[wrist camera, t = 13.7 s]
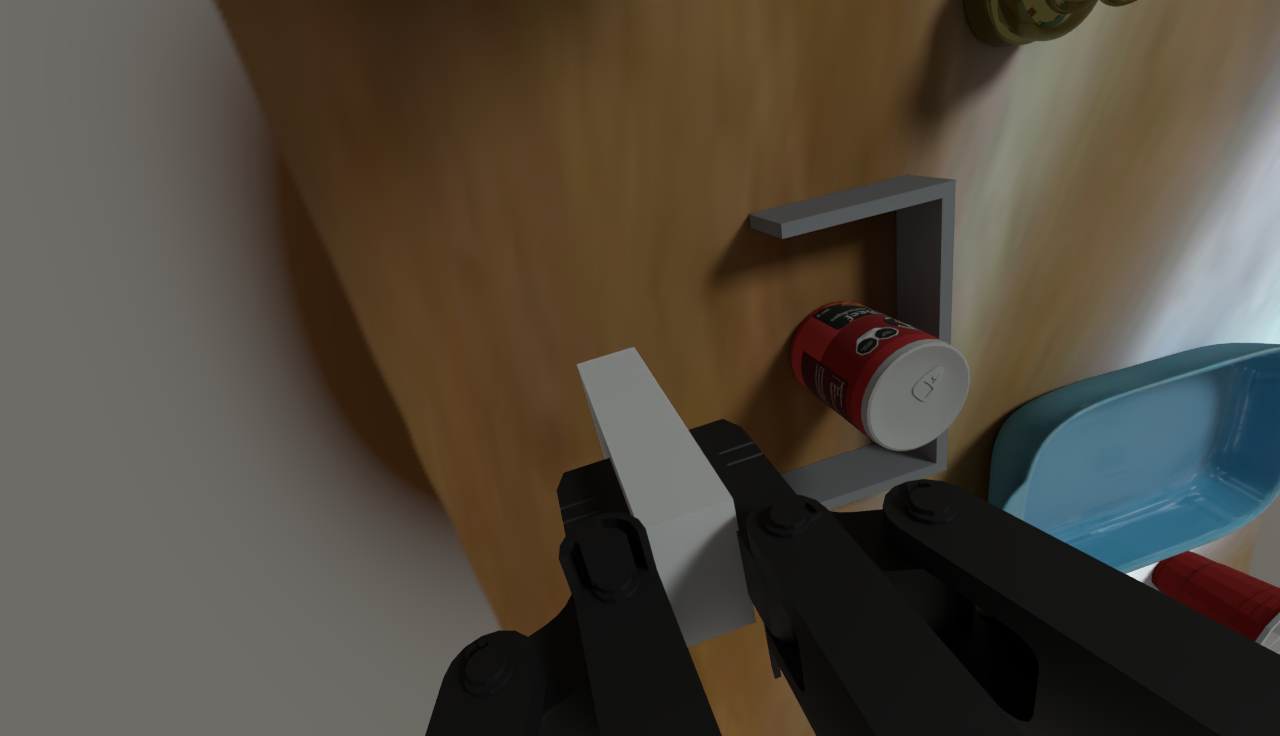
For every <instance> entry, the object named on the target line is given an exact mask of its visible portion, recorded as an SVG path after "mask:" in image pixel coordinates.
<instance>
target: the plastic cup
mask: <svg viewBox="0 0 1280 736" xmlns="http://www.w3.org/2000/svg"><path fill="white" fill-rule="evenodd" d="M1152 582H1153V583H1154V585H1155V586H1156V587H1157V588H1158V589H1159V590H1160V591H1161V592H1162V593H1163V594H1165V595H1167V596H1169V597H1170V598H1172V599H1174V600H1176V601H1178V602H1180V603H1182V604H1184V605H1186V606H1188V607H1190V608H1192V609H1193V610H1195V611H1197V612H1199V613H1201V614H1203V615H1205V616H1207V617H1209V618H1211V619H1213V620H1215V621H1216V622H1218V623H1220V624H1222V625H1224V626H1226V627H1228V628H1230V629H1232V630H1234V631H1236V632H1238V633H1239V634H1241V635H1243V636H1245V637H1247V638H1249V639H1251V640H1253V641H1255V642H1257V643H1259V644H1261V645H1262V646H1264V647H1266V648H1268V649H1270V650H1272V651H1274V652H1276V653H1278V654H1280V588H1278V587H1276V586H1273V585H1271V584H1269V583H1266V582H1264V581H1261V580H1259V579H1257V578H1254V577H1252V576H1250V575H1247V574H1245V573H1242V572H1240V571H1238V570H1235V569H1233V568H1231V567H1228V566H1226V565H1223V564H1220V563H1217V562H1214V561H1212V560H1210V559H1208V558H1205V557H1203V556H1201V555H1198V554H1196V553H1194V552H1190V551H1186V552H1183V553H1181V554H1178V555H1175V556H1172V557H1170V558H1167V559H1164V560H1162V561H1160V563H1159V564H1158V566H1157V567H1156V568H1155V571H1154V573H1153V576H1152Z"/></svg>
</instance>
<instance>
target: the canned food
mask: <svg viewBox="0 0 1280 736" xmlns="http://www.w3.org/2000/svg"><path fill="white" fill-rule="evenodd" d="M790 361H791V366H792V369H793V371H794V374H795V376H796V377H797V379H798V381H799V382H800V383H801V384H802V385H803V386H804V387H805V388H806V389H808V390H809V391H810V392H812V393H813V394H814V395H815V396H817V397H818V398H819V399H820V400H822V401H823V402H824V403H825V404H827V405H828V406H829V407H830V408H832V409H833V410H834V411H836V412H837V413H838V414H839V415H841V416H842V417H843V418H844V419H846V420H847V421H848V422H849V423H851V424H852V425H853V426H854V427H856V428H857V429H858V430H860V431H861V432H862V433H863V434H865V435H866V436H868V437H869V438H870V439H872V440H873V441H874V442H876V443H878V444H880V445H881V446H883V447H885V448H887V449H890V450H894V451H907V450H912V449H916V448H919V447H921V446H924V445H926V444H927V443H929V442H931V441H932V440H934V439H936V438H937V437H938V436H939V435H941V434H942V433H943V432H944V431H945V430H946V429H947V428H948V427H949V426H950V425H951V424H952V422H953V421H954V420H955V418H956V417H957V416H958V414H959V412H960V411H961V409H962V407H963V405H964V403H965V400H966V397H967V395H968V390H969V385H970V372H969V367H968V363H967V361H966V359H965V357H964V356H963V355H962V353H961V352H960V351H959V350H958V349H956V348H954V347H953V346H951V345H950V344H948V343H947V342H945V341H943V340H940V339H938V338H936V337H935V336H932V335H930V334H928V333H925V332H923V331H921V330H919V329H916V328H914V327H912V326H910V325H907V324H905V323H903V322H900V321H898V320H896V319H894V318H891V317H889V316H887V315H884V314H882V313H880V312H878V311H875V310H873V309H871V308H869V307H866V306H864V305H862V304H859V303H856V302H849V301H839V302H832V303H829V304H826V305H823V306H821V307H820V308H818V309H816V310H815V311H813V312H812V313H811V314H810V315H809V316H807V318H806V319H805V320H804V321H803V322H802V323H801V325H800V326H799V328H798V329H797V331H796V333H795V335H794V338H793V340H792V344H791V349H790Z"/></svg>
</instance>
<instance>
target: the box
mask: <svg viewBox="0 0 1280 736" xmlns="http://www.w3.org/2000/svg"><path fill="white" fill-rule="evenodd" d="M955 182H956V180H952V179H943V178H933V177H923V176H913V175H905V176H901V177H897V178H893V179H889V180H885V181H881V182H877V183H873V184H869V185H865V186H861V187H857V188H853V189H849V190H845V191H841V192H837V193H833V194H829V195H825V196H821V197H817V198H813V199H809V200H804V201H800V202H796V203H792V204H788V205H784V206H780V207H776V208H772V209H768V210H764V211H760V212H756V213H752V214H749V218H750V227H751V228H752V229H755V230H758V231H761V232H764V233H766V234H769V235H772V236H775V237H778V238H781V239H785V238H789V237H792V236H796V235H800V234H804V233H808V232H812V231H816V230H820V229H824V228H827V227H831V226H835V225H839V224H843V223H847V222H851V221H855V220H859V219H862V218H866V217H870V216H874V215H878V214H882V213H886V212H890V211H894V210H896V251H897V320H898V321H900V322H903V323H905V324H907V325H910V326H912V327H914V328H916V329H919V330H921V331H923V332H925V333H928V334H930V335H932V336H935V337H936V338H938V339H940V340H943V341H945V342H947V343H948V344H950V343H951V311H952V279H953V246H954V214H955ZM947 439H948V428H947V429H946V430H945V431H944V432H943V433H942V434H941V435H939V436H938V437H937V438H936V439H934V440H932V441H931V442H929V443H927V444H926V445H924V446H921V447H919V448H916V449H912V450H907V451H894V450H890V449H887V448H885V447H883V446H881V445H880V444H878V443H875V444H872V445H869V446H866V447H863V448H860V449H856V450H853V451H850V452H847V453H844V454H841V455H838V456H835V457H832V458H829V459H826V460H823V461H819V462H816V463H813V464H810V465H807V466H804V467H801V468H798V469H795V470H792V471H789V472H785V473H782V474H780V475H781V476H782V477H783V478H784V479H785V481H786V482H787V483H788V484H789V485H790V487H791V488H792V489H793V490H794V491H795V493H796V494H797V495H803V496H806V497H809V498H812V499H815V500H817V501H818V502H819V503H821V504H822V505H823V506H825V507H826V508H827V509H828V510H830V509H833V508H836V507H839V506H842V505H845V504H848V503H850V502H853V501H856V500H859V499H862V498H865V497H868V496H871V495H874V494H877V493H880V492H883V491H886V490H889V489H892V488H893V487H894V486H897V485H899V484H902V483H904V482H907V481H913V480H918V479H921V478H924V477H927V476H930V475H933V474H936V473H939V472H942V471H945V470H947Z"/></svg>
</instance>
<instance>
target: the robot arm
mask: <svg viewBox="0 0 1280 736" xmlns="http://www.w3.org/2000/svg"><path fill="white" fill-rule="evenodd" d="M577 367H578V370H579V374H580V377H581V380H582V384H583V387H584V390H585V394H586V397H587V401H588V404H589V407H590V411H591V414H592V417H593V421H594V424H595V428H596V431H597V434H598V438H599V441H600V444H601V448H602V451H603V454H604V457H605V460H601V461H598V462H595V463H592V464H589V465H586V466H583V467H580V468H577V469H574V470H571V471H568V472H565V473H563V476H562V478H561V481H560V484H559V486H558V489H557V494H558V499H559V505H560V509H561V515H562V520H563V523H564V530H565V535H566V537H565V538H564V540H563V542H562V543H561V545H560V551H559V560H560V563H561V566H562V569H563V571H564V574H565V577H566V579H567V582H568V585H569V587H570V590H571V593H572V594H571V597H570V599H569V600H568V602H567V604H566V606H565V607H564V608H563V609H562V611H561V612H560V613H559V614H558V615H557V616H556V617H555V618H554V619H553V620H551V621H550V622H549V623H548V624H547V625H545V626H544V627H542V628H541V629H539V630H538V631H536V632H535V633H533V634H532V635H531V636H529V637H527V636H525V635H523V634H521V633H519V632H517V631H496V632H493V633H490V634H487V635H484V636H481V637H480V638H478V639H477V640H475V641H474V642H472V643H471V644H469V645H468V646H466V647H465V648H464V649H463V650H462V651H461V652H460V653H459V654H458V655H457V657H456V658H455V659H454V660H453V661H452V662H451V664H450V666H449V668H448V670H447V672H446V674H445V676H444V678H443V681H442V684H441V687H440V690H439V694H438V697H437V700H436V703H435V706H434V709H433V713H432V716H431V719H430V722H429V725H428V728H427V732H426V735H425V736H722V735H721V733H720V730H719V727H718V725H717V722H716V720H715V717H714V715H713V712H712V709H711V707H710V704H709V702H708V699H707V697H706V694H705V691H704V689H703V686H702V684H701V681H700V679H699V676H698V673H697V671H696V668H695V666H694V663H693V661H692V658H691V655H690V653H689V650H688V647H691V646H693V645H696V644H699V643H701V642H704V641H707V640H709V639H712V638H715V637H717V636H720V635H723V634H725V633H728V632H730V631H733V630H736V629H738V628H741V627H744V626H746V625H749V624H752V623H754V622H756V619H755V614H754V609H753V604H754V606H755V608H756V610H757V611H758V613H759V615H760V617H761V619H762V620H763V622H764V627H765V632H766V638H767V643H768V649H769V655H770V660H771V666H772V670H773V673H774V677H775V679H776V678H779V677H781V672H780V669H781V671H782V672H783V674H784V676H785V678H786V680H787V682H788V684H789V685H790V687H791V689H792V691H793V693H794V695H795V697H796V699H797V700H798V702H799V704H800V706H801V708H802V710H803V712H804V714H805V715H806V717H807V719H808V721H809V723H810V725H811V727H812V728H813V730H814V732H815V734H816V736H1280V654H1278V653H1276V652H1274V651H1272V650H1270V649H1268V648H1266V647H1264V646H1262V645H1261V644H1259V643H1257V642H1255V641H1253V640H1251V639H1249V638H1247V637H1245V636H1243V635H1241V634H1239V633H1238V632H1236V631H1234V630H1232V629H1230V628H1228V627H1226V626H1224V625H1222V624H1220V623H1218V622H1216V621H1215V620H1213V619H1211V618H1209V617H1207V616H1205V615H1203V614H1201V613H1199V612H1197V611H1195V610H1193V609H1192V608H1190V607H1188V606H1186V605H1184V604H1182V603H1180V602H1178V601H1176V600H1174V599H1172V598H1170V597H1169V596H1167V595H1165V594H1163V593H1161V592H1159V591H1157V590H1155V589H1153V588H1151V587H1149V586H1147V585H1146V584H1144V583H1142V582H1140V581H1138V580H1136V579H1134V578H1132V577H1130V576H1128V575H1126V574H1124V573H1123V572H1121V571H1119V570H1117V569H1115V568H1113V567H1111V566H1109V565H1107V564H1105V563H1103V562H1101V561H1100V560H1098V559H1096V558H1094V557H1092V556H1090V555H1088V554H1086V553H1084V552H1082V551H1080V550H1078V549H1077V548H1075V547H1073V546H1071V545H1069V544H1067V543H1065V542H1063V541H1061V540H1059V539H1057V538H1056V537H1054V536H1052V535H1050V534H1048V533H1046V532H1044V531H1042V530H1040V529H1038V528H1036V527H1034V526H1033V525H1031V524H1029V523H1027V522H1025V521H1023V520H1021V519H1019V518H1017V517H1015V516H1013V515H1011V514H1010V513H1008V512H1006V511H1004V510H1002V509H1000V508H998V507H996V506H994V505H992V504H990V503H988V502H987V501H985V500H983V499H981V498H979V497H977V496H975V495H973V494H971V493H969V492H967V491H965V490H964V489H962V488H960V487H957V486H954V485H951V484H949V483H946V482H943V481H935V480H928V479H922V480H913V481H907V482H904V483H902V484H899V485H897V486H894V487H893V488H892V489H891V490H890V491H889V492H888V493H887V494H886V495H885V499H884V503H883V509H881V510H871V511H861V512H832V511H829V510H828V509H827V508H826V507H825V506H823V505H822V504H821V503H819V502H818V501H817V500H815V499H812V498H809V497H806V496H803V495H797V494H796V493H795V491H794V490H793V489H792V488H791V487H790V485H789V484H788V483H787V482H786V481H785V479H784V478H783V477H782V476H781V475H780V473H779V472H778V471H777V470H776V468H775V467H774V466H773V465H772V464H771V462H770V461H769V460H768V459H767V458H766V456H765V455H763V454H762V452H761V450H760V449H759V448H758V447H757V446H756V444H755V443H754V444H753V441H752V440H751V438H750V437H749V436H748V435H747V433H746V432H745V431H744V430H743V429H742V427H740V426H737V425H735V424H733V423H731V422H729V421H727V420H724V419H721V420H718V421H715V422H712V423H709V424H706V425H703V426H700V427H696V428H693V429H690V430H688V429H687V427H686V426H685V424H684V423H683V421H682V420H681V418H680V417H679V415H678V414H677V412H676V411H675V409H674V408H673V406H672V404H671V403H670V401H669V400H668V398H667V397H666V395H665V394H664V392H663V391H662V389H661V388H660V386H659V385H658V383H657V381H656V380H655V378H654V377H653V375H652V374H651V372H650V371H649V369H648V368H647V366H646V365H645V363H644V362H643V360H642V358H641V357H640V355H639V354H638V352H637V351H636V349H635V348H634V347H632V348H629V349H626V350H622V351H619V352H616V353H612V354H609V355H606V356H603V357H599V358H596V359H593V360H590V361H586V362H583V363H580V364H577ZM752 602H753V603H752Z"/></svg>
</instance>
